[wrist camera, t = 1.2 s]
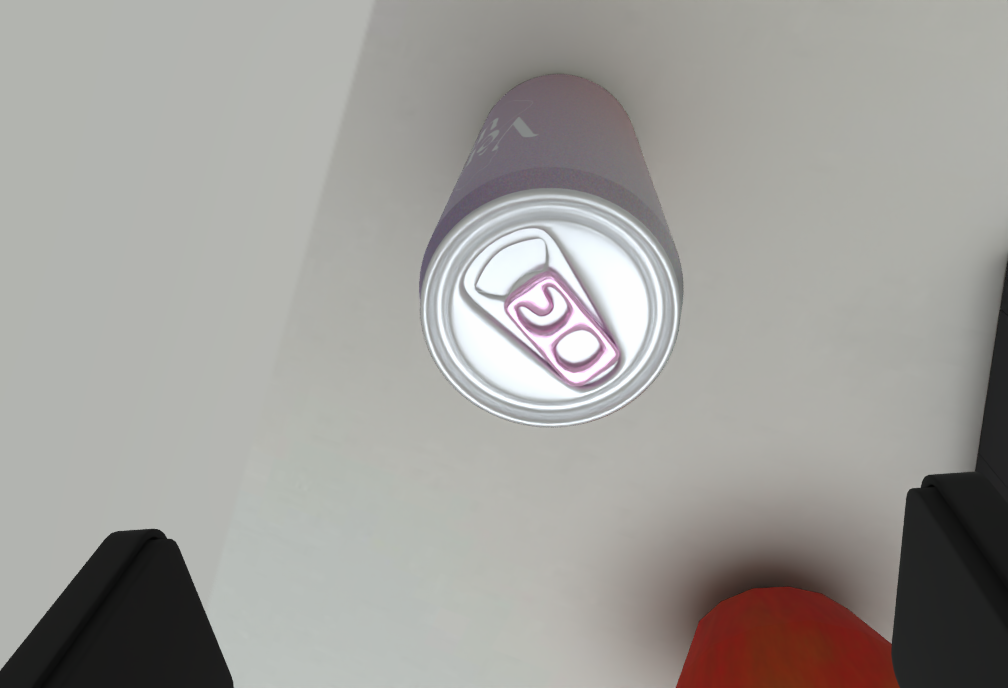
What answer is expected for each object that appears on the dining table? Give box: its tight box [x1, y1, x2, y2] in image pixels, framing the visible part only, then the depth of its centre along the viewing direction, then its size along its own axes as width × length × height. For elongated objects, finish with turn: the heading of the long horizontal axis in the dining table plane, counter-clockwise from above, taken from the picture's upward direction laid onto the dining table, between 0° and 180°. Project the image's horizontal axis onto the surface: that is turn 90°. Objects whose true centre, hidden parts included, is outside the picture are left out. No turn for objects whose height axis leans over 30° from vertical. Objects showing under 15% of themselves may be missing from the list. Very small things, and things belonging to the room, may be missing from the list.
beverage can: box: [419, 74, 683, 427], centre depth 23 cm, size 6×6×15 cm
